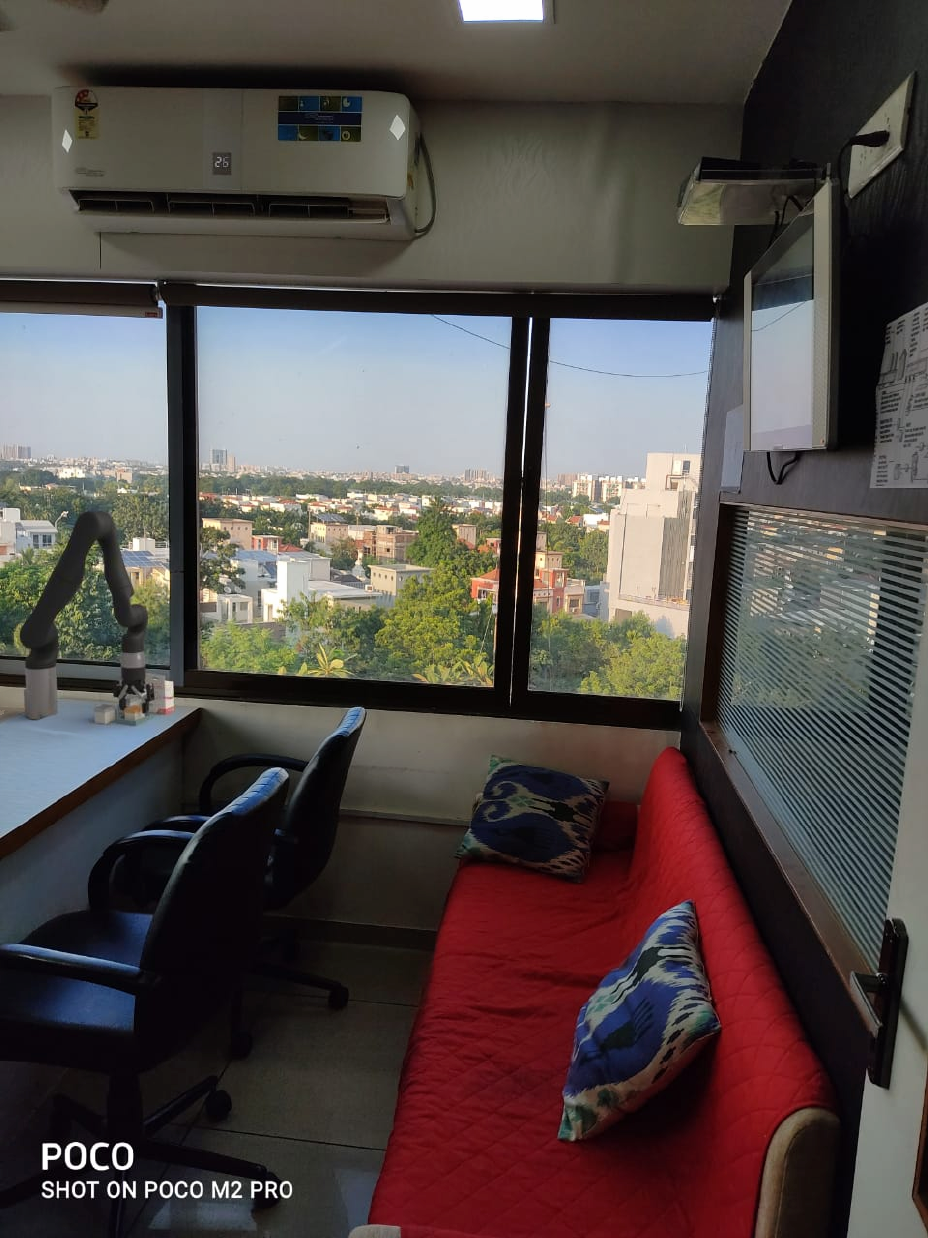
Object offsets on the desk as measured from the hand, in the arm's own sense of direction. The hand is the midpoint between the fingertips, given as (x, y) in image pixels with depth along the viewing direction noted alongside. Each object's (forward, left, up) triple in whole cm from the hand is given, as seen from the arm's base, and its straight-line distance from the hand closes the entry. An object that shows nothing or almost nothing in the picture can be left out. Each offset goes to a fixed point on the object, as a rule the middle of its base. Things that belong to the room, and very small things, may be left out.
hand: (134, 711), depth 279 cm
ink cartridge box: (+1, +12, -4) cm, 13 cm away
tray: (0, 0, -4) cm, 4 cm away
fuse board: (-8, +2, -4) cm, 9 cm away
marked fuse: (0, 0, -4) cm, 4 cm away
